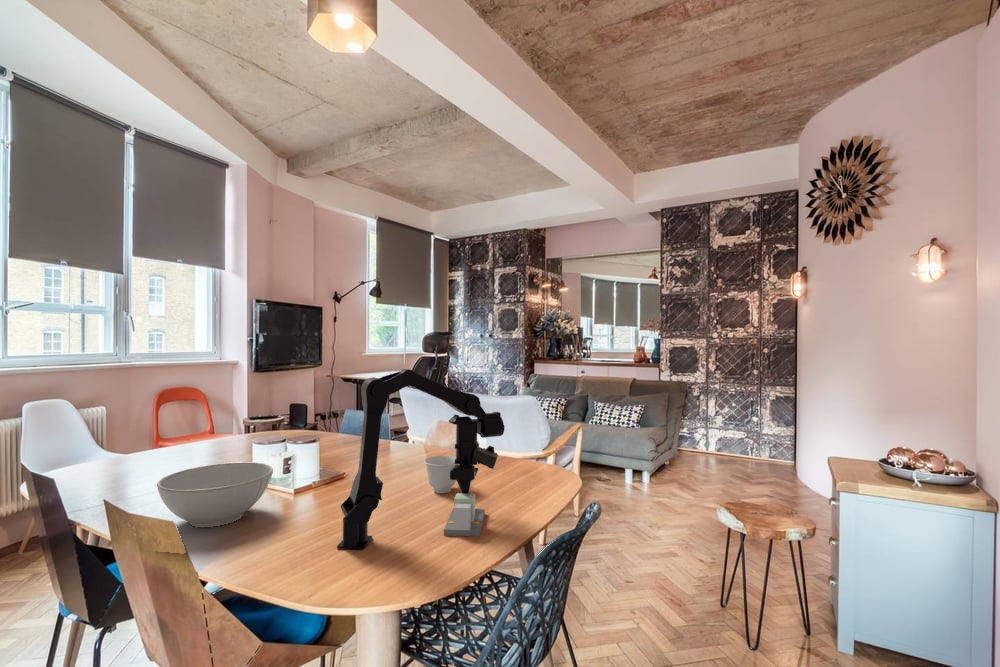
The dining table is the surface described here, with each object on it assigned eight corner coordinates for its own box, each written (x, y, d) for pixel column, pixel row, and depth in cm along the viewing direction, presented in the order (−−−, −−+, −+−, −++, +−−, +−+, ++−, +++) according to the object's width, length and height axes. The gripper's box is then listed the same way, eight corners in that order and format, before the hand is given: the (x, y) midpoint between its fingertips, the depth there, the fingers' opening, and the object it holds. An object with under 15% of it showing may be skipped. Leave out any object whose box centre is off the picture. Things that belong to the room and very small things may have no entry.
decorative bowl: (292, 512, 127) (293, 470, 127) (187, 549, 104) (189, 497, 104) (239, 496, 141) (240, 457, 141) (136, 525, 117) (137, 479, 118)
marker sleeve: (473, 522, 116) (473, 498, 116) (454, 521, 116) (454, 498, 116) (474, 516, 120) (475, 493, 120) (456, 515, 120) (456, 493, 120)
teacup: (468, 484, 154) (468, 455, 154) (452, 498, 140) (452, 466, 140) (436, 481, 157) (436, 452, 158) (417, 494, 143) (417, 463, 143)
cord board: (479, 536, 112) (479, 508, 112) (443, 535, 112) (444, 507, 113) (484, 514, 127) (484, 489, 127) (453, 513, 127) (453, 488, 128)
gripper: (493, 447, 112) (493, 510, 111) (498, 433, 131) (497, 486, 130) (449, 446, 112) (449, 509, 112) (460, 432, 131) (459, 486, 131)
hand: (466, 497), depth 121 cm, fingers closed
